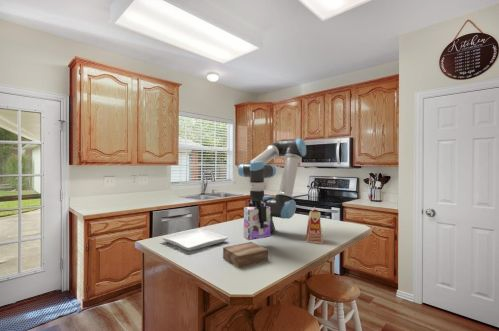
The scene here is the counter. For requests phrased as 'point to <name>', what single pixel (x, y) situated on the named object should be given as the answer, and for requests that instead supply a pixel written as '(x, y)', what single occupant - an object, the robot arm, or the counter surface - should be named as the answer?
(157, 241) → the counter surface
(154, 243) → the counter surface
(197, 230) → the square plate
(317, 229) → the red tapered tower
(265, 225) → the candy box
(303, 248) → the counter surface
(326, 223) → the counter surface
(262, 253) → the walnut block
